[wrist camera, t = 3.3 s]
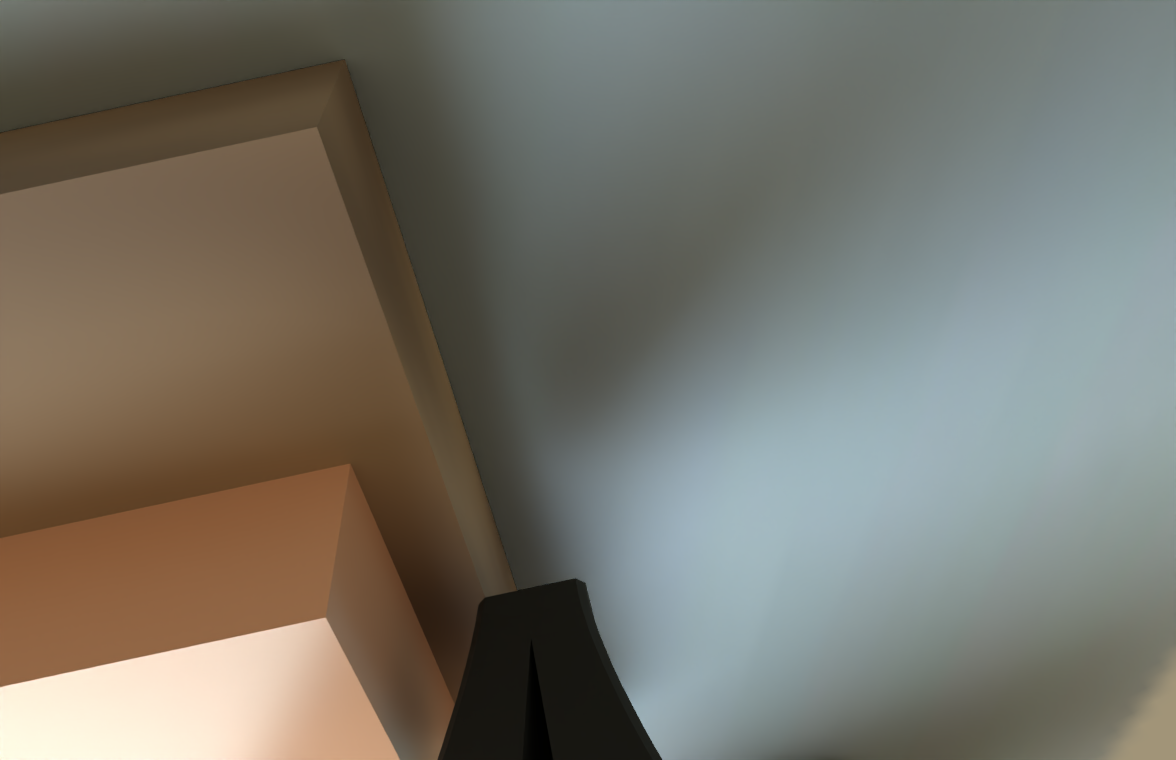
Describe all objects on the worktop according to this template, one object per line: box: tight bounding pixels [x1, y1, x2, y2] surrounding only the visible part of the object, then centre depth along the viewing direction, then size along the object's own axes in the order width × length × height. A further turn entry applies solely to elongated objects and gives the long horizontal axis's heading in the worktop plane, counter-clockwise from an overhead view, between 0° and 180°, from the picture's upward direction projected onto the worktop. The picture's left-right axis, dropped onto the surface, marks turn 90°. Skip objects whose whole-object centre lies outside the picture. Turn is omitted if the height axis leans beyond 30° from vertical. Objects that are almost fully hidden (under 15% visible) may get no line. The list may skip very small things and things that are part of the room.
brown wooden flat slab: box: [0, 60, 517, 704], centre depth 13 cm, size 14×14×2 cm
